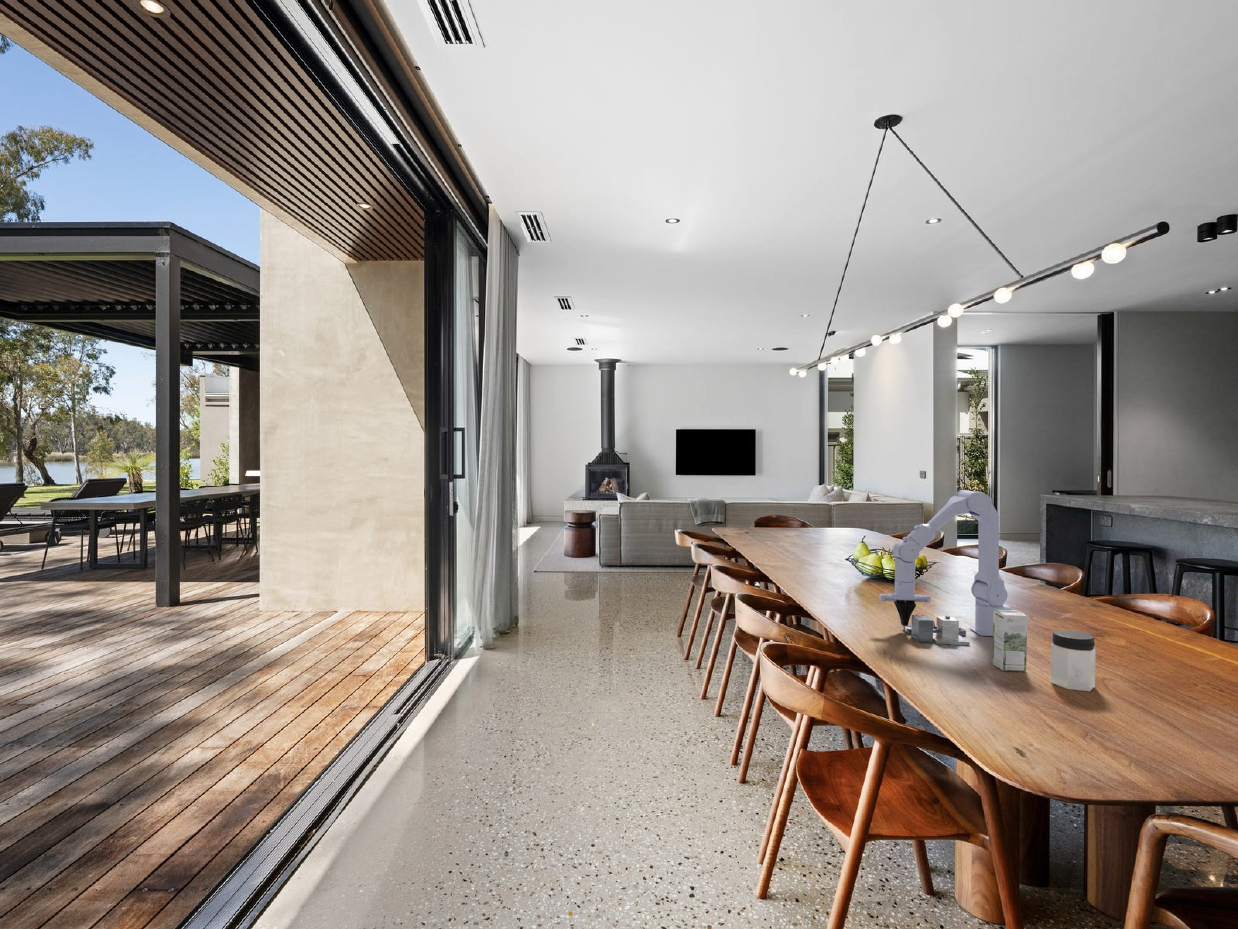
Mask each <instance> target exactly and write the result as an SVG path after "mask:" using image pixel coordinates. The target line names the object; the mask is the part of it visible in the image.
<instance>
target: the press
mask: <svg viewBox="0 0 1238 929" xmlns="http://www.w3.org/2000/svg"><path fill="white" fill-rule="evenodd" d="M905 627H912V629H908V630H907V632H906V631H905ZM902 628H903V631H904V632H906V633H908V634H907V635H911V638H912V637H913V639H914V640H915V641H916V640H917V641H918V643H919V642H924V643H925V642H926V643H925V644H933V643H934V644H935V643H936V645H937V644H951V645H950V646H966V645H970V646H971V642H970V641H969V640H967V639H966V638H965V637H964V636H966V635H967V630H966V629H964V628H962V627H960V626H959V640H954V639H942V638H940V637H939V636H937V635H936V628H937V625H936V623H935V621H934V620H933V619H931V618H930V617H929V616H928V615H924V614H922V615H915V614H914V615H913V614H911V625H908V626H903V625H902ZM917 641H916V642H917Z"/></svg>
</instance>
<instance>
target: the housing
mask: <svg viewBox="0 0 1238 929" xmlns="http://www.w3.org/2000/svg"><path fill="white" fill-rule="evenodd" d="M936 626H937V628H936V635H937V636H939V637H940V638H942V639H954V640H959V627H960V620H958V619H957V618H955V617H953V616H949V615H945V616H936Z"/></svg>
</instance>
